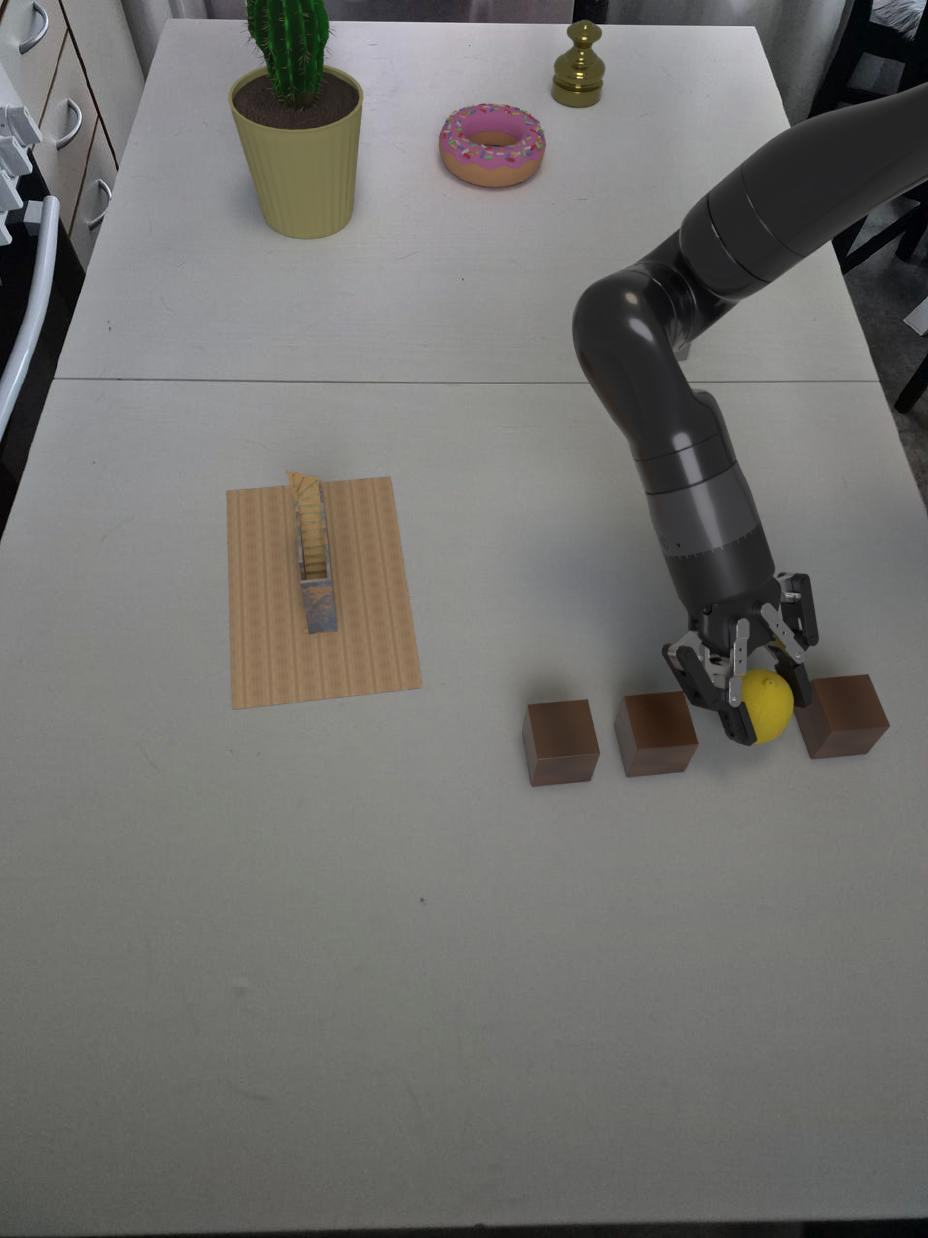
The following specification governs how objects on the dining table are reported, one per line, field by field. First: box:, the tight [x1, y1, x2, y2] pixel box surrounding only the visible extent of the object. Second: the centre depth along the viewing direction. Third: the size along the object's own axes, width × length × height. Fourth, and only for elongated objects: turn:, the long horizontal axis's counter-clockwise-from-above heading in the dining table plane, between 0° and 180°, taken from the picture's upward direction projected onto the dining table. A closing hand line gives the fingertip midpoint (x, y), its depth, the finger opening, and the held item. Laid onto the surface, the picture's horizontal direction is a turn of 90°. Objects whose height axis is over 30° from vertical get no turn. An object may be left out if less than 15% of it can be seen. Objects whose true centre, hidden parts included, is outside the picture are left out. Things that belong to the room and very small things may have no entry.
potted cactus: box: [227, 0, 365, 240], centre depth 110 cm, size 15×15×30 cm
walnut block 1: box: [521, 698, 601, 788], centre depth 79 cm, size 5×5×5 cm
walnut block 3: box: [793, 673, 891, 760], centre depth 81 cm, size 5×5×5 cm
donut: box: [438, 102, 547, 188], centre depth 129 cm, size 14×14×5 cm
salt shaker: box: [551, 19, 606, 108], centre depth 138 cm, size 7×7×10 cm
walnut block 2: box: [613, 690, 700, 778], centre depth 79 cm, size 5×5×5 cm
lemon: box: [742, 668, 794, 745], centre depth 78 cm, size 6×6×8 cm
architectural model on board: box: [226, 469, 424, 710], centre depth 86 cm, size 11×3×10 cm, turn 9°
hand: (773, 722), depth 77 cm, fingers closed on lemon, 5 cm apart
